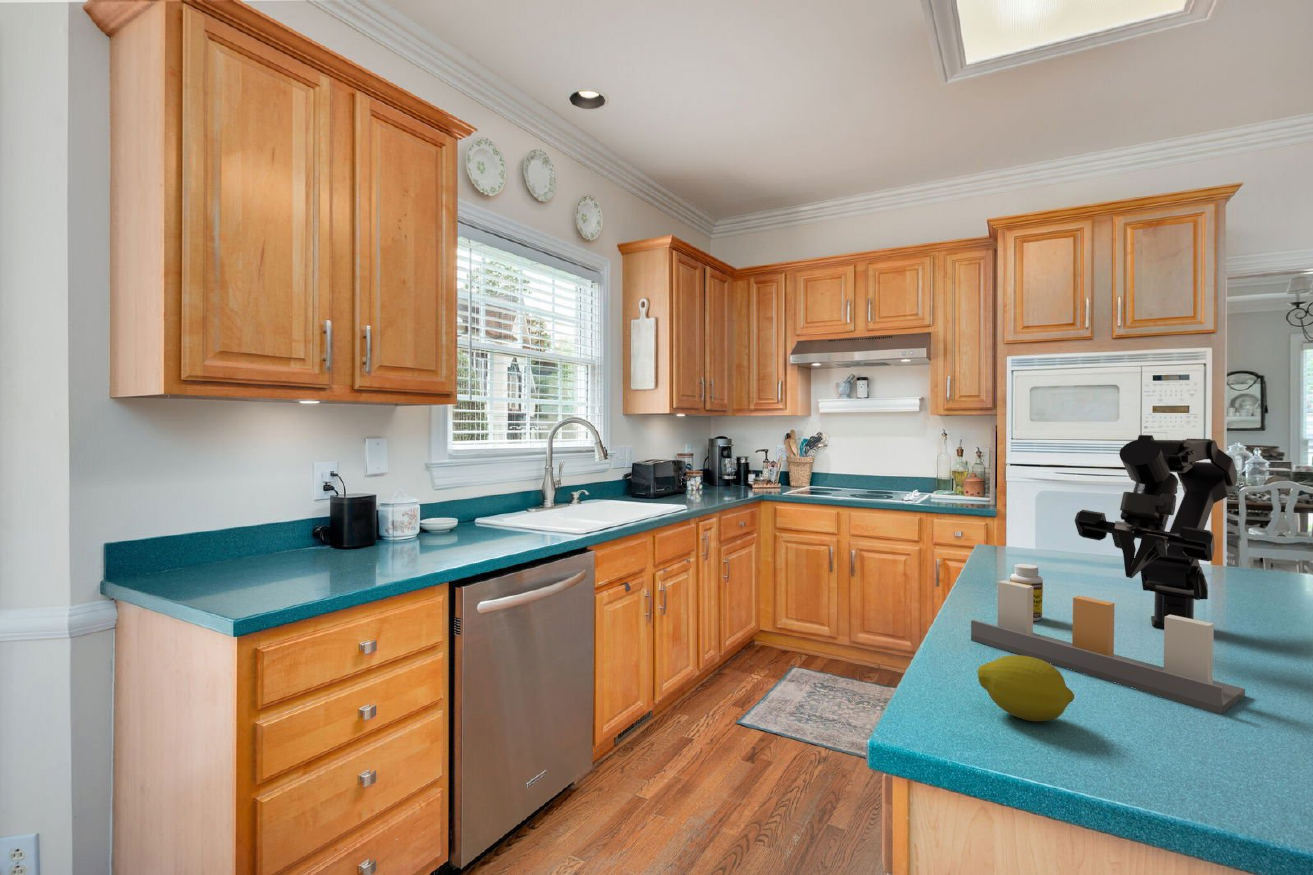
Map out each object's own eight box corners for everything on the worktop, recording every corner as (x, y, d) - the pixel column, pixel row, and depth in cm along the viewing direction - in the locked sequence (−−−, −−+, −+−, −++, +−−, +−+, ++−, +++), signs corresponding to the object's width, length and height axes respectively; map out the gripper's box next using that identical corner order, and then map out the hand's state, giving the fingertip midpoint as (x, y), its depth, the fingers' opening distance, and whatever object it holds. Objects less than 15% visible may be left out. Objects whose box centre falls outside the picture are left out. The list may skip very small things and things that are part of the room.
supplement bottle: (1033, 623, 121) (1034, 570, 120) (1003, 616, 125) (1004, 564, 125) (1047, 618, 124) (1048, 566, 123) (1018, 611, 128) (1019, 561, 128)
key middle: (1078, 650, 103) (1078, 595, 103) (1113, 660, 99) (1114, 603, 99) (1072, 653, 102) (1073, 597, 102) (1107, 663, 98) (1108, 605, 97)
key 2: (1168, 675, 93) (1169, 614, 93) (1212, 687, 89) (1213, 623, 89) (1163, 678, 92) (1164, 616, 92) (1207, 690, 88) (1208, 626, 87)
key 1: (1003, 630, 113) (1004, 580, 113) (1032, 638, 109) (1033, 586, 109) (997, 632, 112) (998, 581, 112) (1026, 640, 108) (1027, 588, 107)
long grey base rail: (1001, 629, 117) (1001, 610, 117) (1245, 695, 89) (1245, 671, 89) (971, 640, 112) (971, 620, 112) (1220, 714, 83) (1221, 688, 83)
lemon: (1077, 719, 82) (1078, 658, 82) (1068, 742, 76) (1069, 676, 76) (986, 695, 89) (986, 639, 89) (971, 715, 83) (971, 655, 83)
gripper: (1082, 465, 113) (1056, 539, 108) (1220, 482, 100) (1198, 567, 94) (1092, 500, 120) (1067, 570, 114) (1222, 520, 106) (1202, 602, 101)
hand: (1128, 576), depth 106 cm, fingers closed
